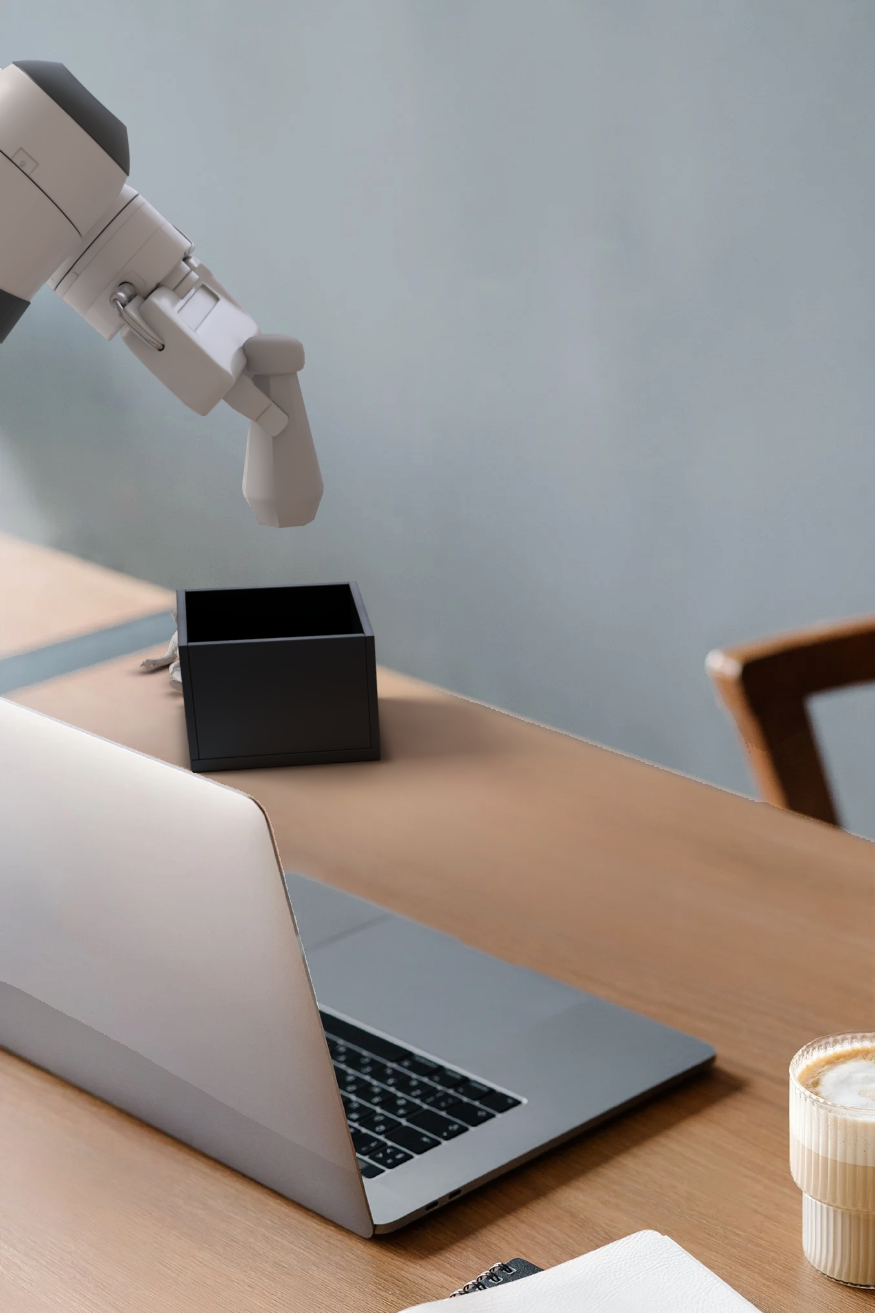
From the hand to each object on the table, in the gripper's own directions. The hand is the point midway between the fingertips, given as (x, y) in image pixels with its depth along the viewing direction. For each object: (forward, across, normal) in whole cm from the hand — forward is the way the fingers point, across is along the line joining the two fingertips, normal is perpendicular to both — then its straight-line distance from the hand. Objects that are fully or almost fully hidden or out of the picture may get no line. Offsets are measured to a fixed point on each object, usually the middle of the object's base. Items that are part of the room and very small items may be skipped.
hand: (286, 421), depth 129 cm
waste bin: (+16, +4, +20) cm, 26 cm away
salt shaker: (+5, 0, +6) cm, 7 cm away
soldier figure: (+10, +19, +26) cm, 34 cm away
